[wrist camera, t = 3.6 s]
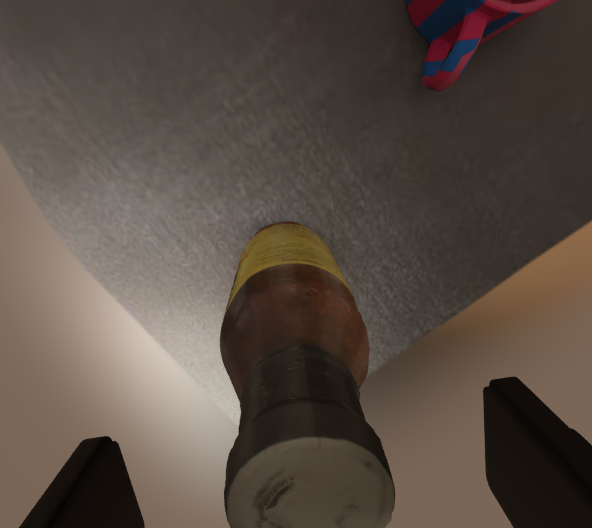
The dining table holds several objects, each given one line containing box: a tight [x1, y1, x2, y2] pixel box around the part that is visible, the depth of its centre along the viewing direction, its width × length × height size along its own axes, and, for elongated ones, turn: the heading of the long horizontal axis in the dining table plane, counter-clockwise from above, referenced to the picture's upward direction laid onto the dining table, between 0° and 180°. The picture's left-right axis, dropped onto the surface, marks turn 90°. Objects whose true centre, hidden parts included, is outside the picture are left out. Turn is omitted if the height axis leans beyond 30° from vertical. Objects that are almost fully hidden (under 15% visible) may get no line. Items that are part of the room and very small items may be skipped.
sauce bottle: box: [220, 222, 395, 528], centre depth 18 cm, size 7×6×20 cm
